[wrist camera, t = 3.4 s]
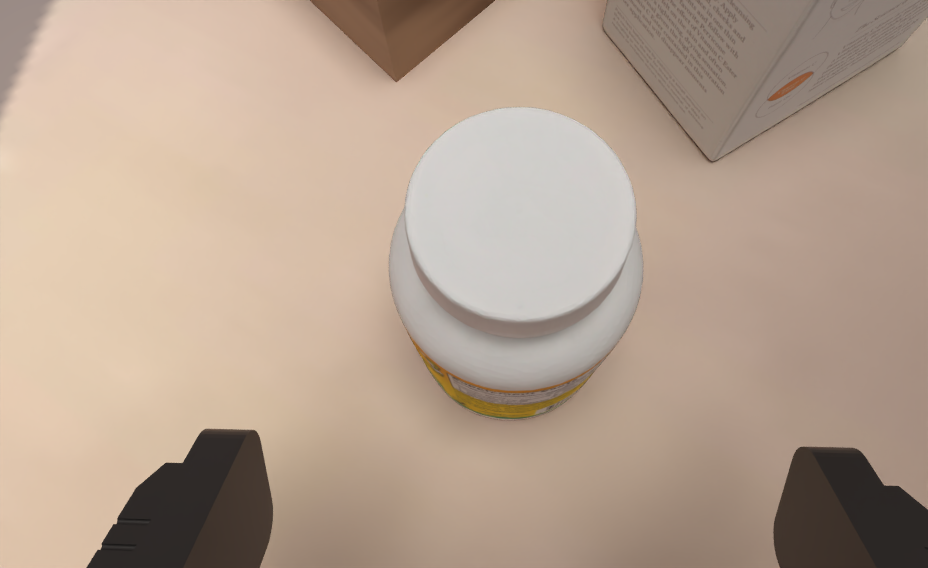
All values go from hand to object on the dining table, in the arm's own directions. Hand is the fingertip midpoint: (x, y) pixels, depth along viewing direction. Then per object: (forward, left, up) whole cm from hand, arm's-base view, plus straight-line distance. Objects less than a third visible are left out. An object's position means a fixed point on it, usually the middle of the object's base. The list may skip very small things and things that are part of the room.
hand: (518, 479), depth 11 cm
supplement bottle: (-2, -4, -10) cm, 11 cm away
